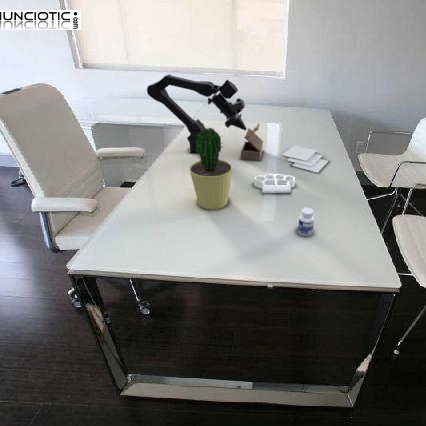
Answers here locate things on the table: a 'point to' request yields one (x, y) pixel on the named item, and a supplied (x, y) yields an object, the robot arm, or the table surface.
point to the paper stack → (305, 158)
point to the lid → (254, 138)
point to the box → (250, 152)
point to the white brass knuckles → (274, 183)
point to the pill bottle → (306, 222)
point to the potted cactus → (210, 172)
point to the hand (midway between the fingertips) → (245, 129)
